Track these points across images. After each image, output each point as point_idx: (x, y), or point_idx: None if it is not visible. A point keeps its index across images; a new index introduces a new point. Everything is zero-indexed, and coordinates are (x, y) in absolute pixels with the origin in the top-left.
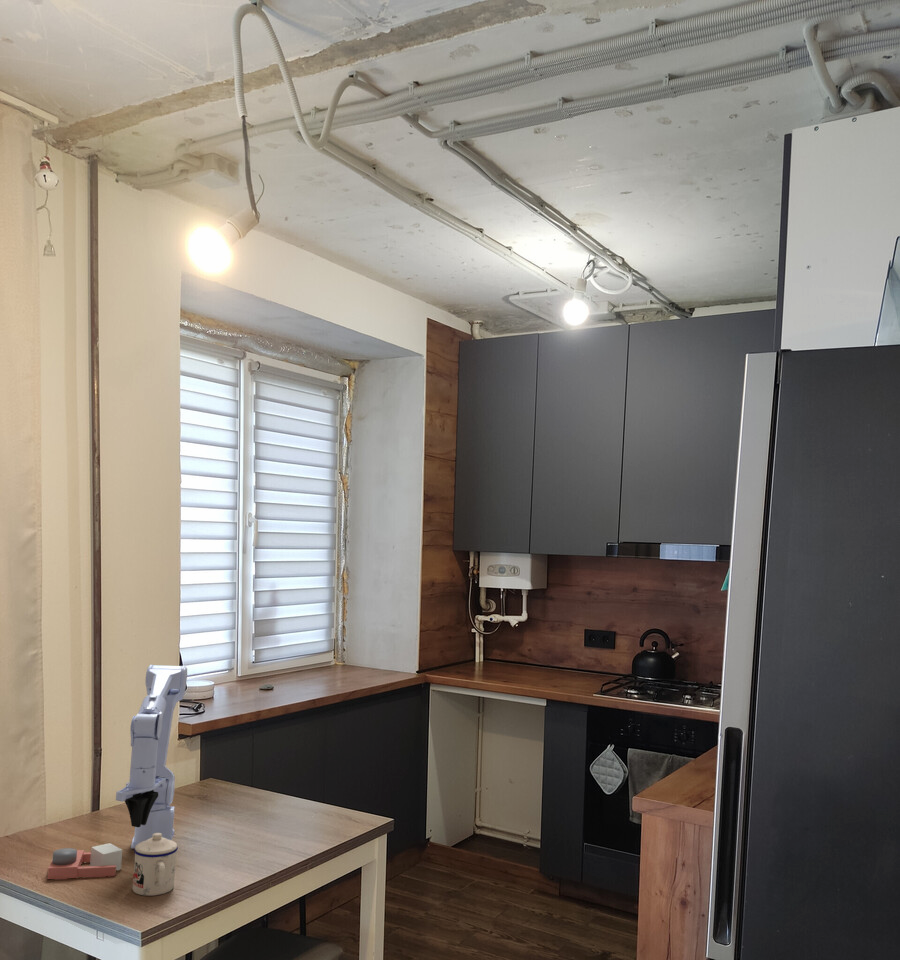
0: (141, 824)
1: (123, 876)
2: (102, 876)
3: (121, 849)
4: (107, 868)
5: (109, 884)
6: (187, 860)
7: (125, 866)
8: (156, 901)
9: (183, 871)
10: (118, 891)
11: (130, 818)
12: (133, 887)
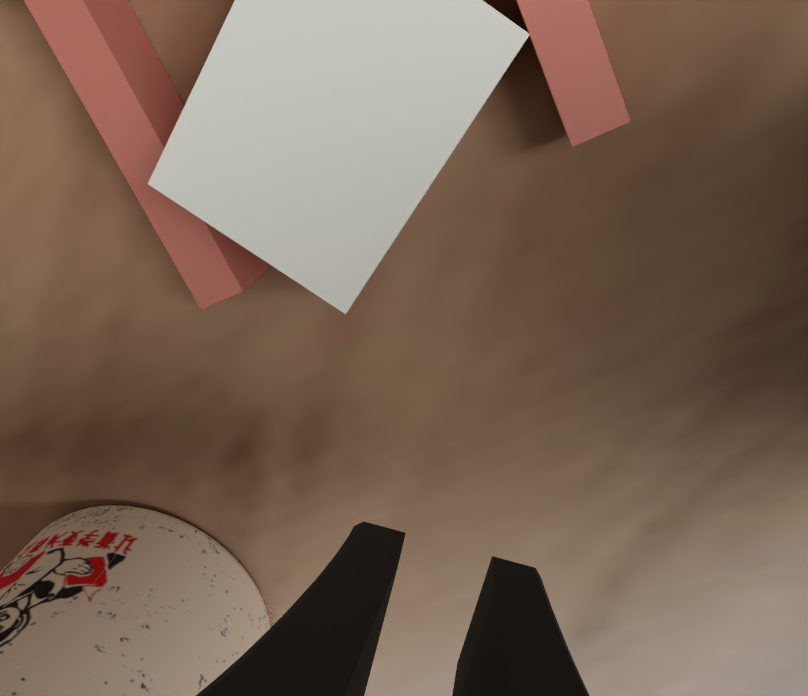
0: (471, 628)
1: (255, 348)
2: None
3: (352, 299)
4: (169, 241)
5: (81, 323)
6: (719, 653)
7: (464, 259)
8: None
9: None
10: (14, 437)
11: (309, 587)
12: (26, 545)
